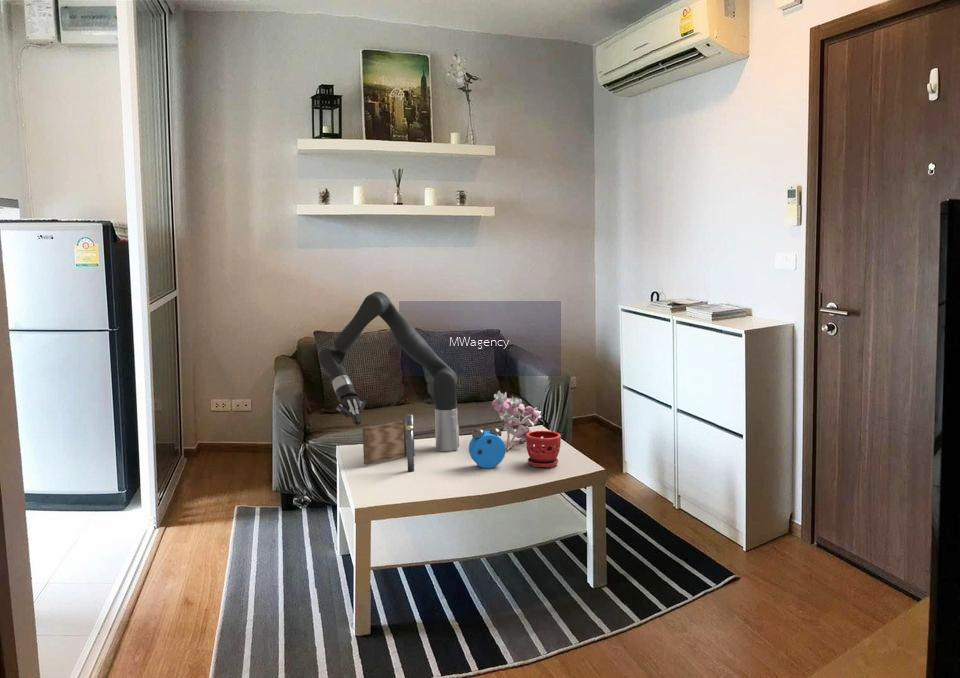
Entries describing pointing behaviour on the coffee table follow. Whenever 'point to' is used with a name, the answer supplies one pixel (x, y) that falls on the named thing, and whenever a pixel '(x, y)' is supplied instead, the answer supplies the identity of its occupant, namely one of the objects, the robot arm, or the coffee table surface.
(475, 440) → the alarm clock
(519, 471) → the coffee table surface
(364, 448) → the gate
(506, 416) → the flower
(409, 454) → the post
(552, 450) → the plant pot
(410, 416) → the hinge post
